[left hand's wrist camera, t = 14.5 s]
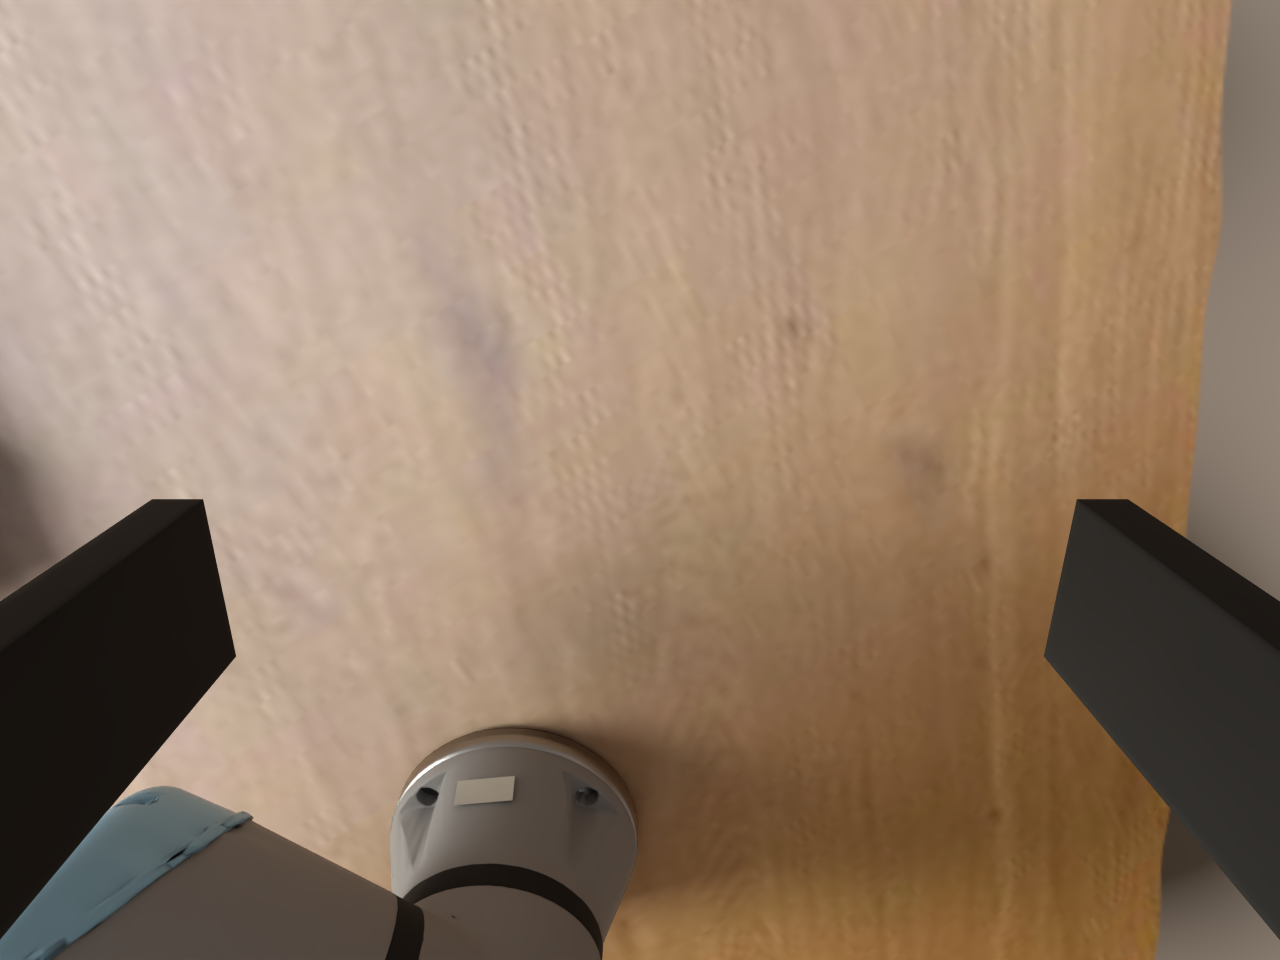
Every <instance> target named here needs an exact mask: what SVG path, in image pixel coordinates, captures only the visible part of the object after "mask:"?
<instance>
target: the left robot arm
mask: <svg viewBox="0 0 1280 960" xmlns="http://www.w3.org/2000/svg"><path fill="white" fill-rule="evenodd" d="M235 657H236V654H235V649H234V644H233V639H232V635H231V630H230V625H229V620H228V616H227V611H226V606H225V601H224V597H223V592H222V587H221V582H220V578H219V573H218V568H217V563H216V559H215V554H214V549H213V544H212V540H211V535H210V530H209V525H208V521H207V516H206V511H205V506H204V502H203V499H152V500H150V501H149V502H147V503H146V504H144V505H143V506H141V507H140V508H139V509H137V510H136V511H134V512H133V513H131V514H130V515H128V516H127V517H125V518H124V519H122V520H121V521H119V522H118V523H116V524H115V525H113V526H112V527H110V528H109V529H107V530H106V531H104V532H103V533H101V534H100V535H98V536H97V537H95V538H94V539H92V540H91V541H89V542H88V543H87V544H85V545H84V546H82V547H81V548H79V549H78V550H76V551H75V552H73V553H72V554H70V555H69V556H67V557H66V558H64V559H63V560H61V561H60V562H58V563H57V564H55V565H54V566H52V567H51V568H49V569H48V570H46V571H45V572H43V573H42V574H40V575H39V576H38V577H36V578H35V579H33V580H32V581H30V582H29V583H27V584H26V585H24V586H23V587H21V588H20V589H18V590H17V591H15V592H14V593H12V594H11V595H9V596H8V597H6V598H5V599H3V600H2V601H0V960H602V953H603V943H604V940H605V938H606V935H607V933H608V931H609V928H610V926H611V923H612V921H613V919H614V916H615V914H616V912H617V909H618V907H619V904H620V902H621V900H622V897H623V895H624V892H625V890H626V888H627V885H628V883H629V880H630V878H631V875H632V871H633V868H634V865H635V861H636V855H637V817H636V812H635V807H634V804H633V801H632V798H631V796H630V794H629V792H628V790H627V788H626V786H625V785H624V783H623V781H622V780H621V779H620V777H619V776H618V775H617V773H616V772H615V771H614V770H613V769H612V768H611V767H610V766H609V765H608V764H607V763H606V762H605V761H603V760H602V759H601V758H600V757H598V756H597V755H596V754H594V753H593V752H592V751H590V750H588V749H587V748H585V747H583V746H581V745H579V744H577V743H575V742H573V741H571V740H568V739H566V738H563V737H561V736H558V735H554V734H551V733H547V732H542V731H537V730H530V729H518V728H504V729H492V730H485V731H480V732H476V733H472V734H469V735H465V736H462V737H460V738H457V739H455V740H453V741H451V742H449V743H447V744H445V745H443V746H441V747H440V748H438V749H437V750H435V751H434V752H432V753H431V754H430V755H429V756H427V757H426V758H425V759H424V760H423V761H422V762H421V763H420V764H419V765H418V766H417V767H416V769H415V770H414V771H413V772H412V774H411V775H410V777H409V778H408V780H407V782H406V784H405V786H404V788H403V790H402V793H401V796H400V798H399V801H398V804H397V806H396V809H395V812H394V815H393V818H392V824H391V835H390V856H391V885H392V892H390V891H388V890H386V889H384V888H382V887H380V886H378V885H376V884H374V883H372V882H370V881H368V880H366V879H365V878H363V877H361V876H359V875H357V874H355V873H353V872H351V871H349V870H347V869H345V868H343V867H341V866H339V865H337V864H335V863H333V862H331V861H329V860H327V859H325V858H323V857H321V856H319V855H317V854H315V853H313V852H312V851H310V850H308V849H306V848H304V847H302V846H300V845H298V844H296V843H294V842H292V841H290V840H288V839H286V838H284V837H282V836H280V835H278V834H276V833H274V832H272V831H270V830H268V829H266V828H264V827H263V826H261V825H259V824H257V823H255V822H253V821H252V819H253V817H252V816H251V815H250V814H248V813H246V812H239V813H235V812H233V811H231V810H228V809H226V808H224V807H221V806H219V805H217V804H214V803H212V802H210V801H207V800H205V799H203V798H201V797H198V796H196V795H194V794H191V793H189V792H187V791H184V790H182V789H179V788H176V787H169V786H158V787H152V788H148V789H145V790H142V791H139V792H136V793H134V794H132V795H130V796H128V797H127V798H125V799H123V800H122V801H120V802H119V803H117V804H116V805H114V806H113V807H112V808H111V809H109V808H110V807H111V806H112V805H113V804H114V802H115V801H116V800H117V799H118V798H119V796H120V795H121V794H122V793H123V792H124V790H125V789H126V788H127V787H128V786H129V784H130V783H131V782H132V781H133V780H134V778H135V777H136V776H137V775H138V774H139V772H140V771H141V770H142V769H143V768H144V766H145V765H146V764H147V763H148V762H149V760H150V759H151V758H152V757H153V756H154V754H155V753H156V752H157V751H158V750H159V748H160V747H161V746H162V745H163V744H164V742H165V741H166V740H167V739H168V738H169V736H170V735H171V734H172V733H173V732H174V730H175V729H176V728H177V727H178V726H179V724H180V723H181V722H182V721H183V720H184V718H185V717H186V716H187V715H188V713H189V712H190V711H191V710H192V709H193V707H194V706H195V705H196V704H197V703H198V701H199V700H200V699H201V698H202V697H203V695H204V694H205V693H206V692H207V691H208V689H209V688H210V687H211V686H212V685H213V683H214V682H215V681H216V680H217V679H218V677H219V676H220V675H221V674H222V673H223V671H224V670H225V669H226V668H227V667H228V665H229V664H230V663H231V662H232V661H233V659H234V658H235ZM1044 657H1045V658H1046V659H1047V661H1048V662H1049V663H1050V664H1051V665H1052V667H1053V668H1054V669H1055V670H1056V671H1057V673H1058V674H1059V675H1060V676H1061V677H1062V679H1063V680H1064V681H1065V682H1066V683H1067V685H1068V686H1069V687H1070V688H1071V689H1072V691H1073V692H1074V693H1075V694H1076V695H1077V697H1078V698H1079V699H1080V700H1081V701H1082V703H1083V704H1084V705H1085V706H1086V707H1087V709H1088V710H1089V711H1090V712H1091V713H1092V715H1093V716H1094V717H1095V718H1096V720H1097V721H1098V722H1099V723H1100V724H1101V726H1102V727H1103V728H1104V729H1105V730H1106V732H1107V733H1108V734H1109V735H1110V736H1111V738H1112V739H1113V740H1114V741H1115V742H1116V744H1117V745H1118V746H1119V747H1120V748H1121V750H1122V751H1123V752H1124V753H1125V754H1126V756H1127V757H1128V758H1129V759H1130V760H1131V762H1132V763H1133V764H1134V765H1135V766H1136V768H1137V769H1138V770H1139V771H1140V772H1141V774H1142V775H1143V776H1144V777H1145V778H1146V780H1147V781H1148V782H1149V783H1150V784H1151V786H1152V787H1153V788H1154V789H1155V790H1156V792H1157V793H1158V794H1159V795H1160V796H1161V798H1162V799H1163V800H1164V801H1165V802H1166V804H1167V805H1168V806H1169V807H1170V808H1171V810H1172V811H1173V812H1174V813H1175V814H1176V816H1177V817H1178V818H1179V819H1180V820H1181V822H1182V823H1183V824H1184V825H1185V826H1186V828H1187V829H1188V830H1189V831H1190V832H1191V834H1192V835H1193V836H1194V837H1195V838H1196V840H1197V841H1198V842H1199V843H1200V844H1201V846H1202V847H1203V848H1204V849H1205V850H1206V852H1207V853H1208V854H1209V855H1210V856H1211V858H1212V859H1213V860H1214V861H1215V862H1216V864H1217V865H1218V866H1219V867H1220V869H1221V870H1222V871H1223V872H1224V873H1225V875H1226V876H1227V877H1228V878H1229V879H1230V881H1231V882H1232V883H1233V884H1234V885H1235V886H1236V888H1237V889H1238V890H1239V891H1240V893H1241V894H1242V895H1243V896H1244V897H1245V899H1246V900H1247V901H1248V902H1249V903H1250V905H1251V906H1252V907H1253V908H1254V909H1255V911H1256V912H1257V913H1258V914H1259V915H1260V917H1261V918H1262V919H1263V920H1264V921H1265V923H1266V924H1267V925H1268V926H1269V927H1270V929H1271V930H1272V931H1273V932H1274V933H1275V935H1276V936H1277V937H1278V938H1279V939H1280V601H1278V600H1277V599H1275V598H1274V597H1272V596H1271V595H1269V594H1268V593H1266V592H1265V591H1263V590H1262V589H1260V588H1259V587H1257V586H1256V585H1254V584H1253V583H1251V582H1250V581H1248V580H1247V579H1245V578H1244V577H1242V576H1241V575H1239V574H1238V573H1237V572H1235V571H1234V570H1232V569H1231V568H1229V567H1228V566H1226V565H1225V564H1223V563H1222V562H1220V561H1219V560H1217V559H1216V558H1214V557H1213V556H1211V555H1210V554H1208V553H1207V552H1205V551H1204V550H1202V549H1201V548H1199V547H1198V546H1196V545H1195V544H1193V543H1192V542H1190V541H1189V540H1188V539H1186V538H1185V537H1183V536H1182V535H1180V534H1179V533H1177V532H1176V531H1174V530H1173V529H1171V528H1170V527H1168V526H1167V525H1165V524H1164V523H1162V522H1161V521H1159V520H1158V519H1156V518H1155V517H1153V516H1152V515H1150V514H1149V513H1147V512H1146V511H1144V510H1143V509H1141V508H1140V507H1139V506H1137V505H1136V504H1134V503H1133V502H1131V501H1130V500H1128V499H1077V501H1076V506H1075V511H1074V516H1073V521H1072V525H1071V530H1070V535H1069V540H1068V544H1067V549H1066V554H1065V559H1064V563H1063V568H1062V573H1061V578H1060V582H1059V587H1058V592H1057V597H1056V601H1055V606H1054V611H1053V616H1052V620H1051V625H1050V630H1049V635H1048V639H1047V644H1046V649H1045V654H1044Z"/></svg>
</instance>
